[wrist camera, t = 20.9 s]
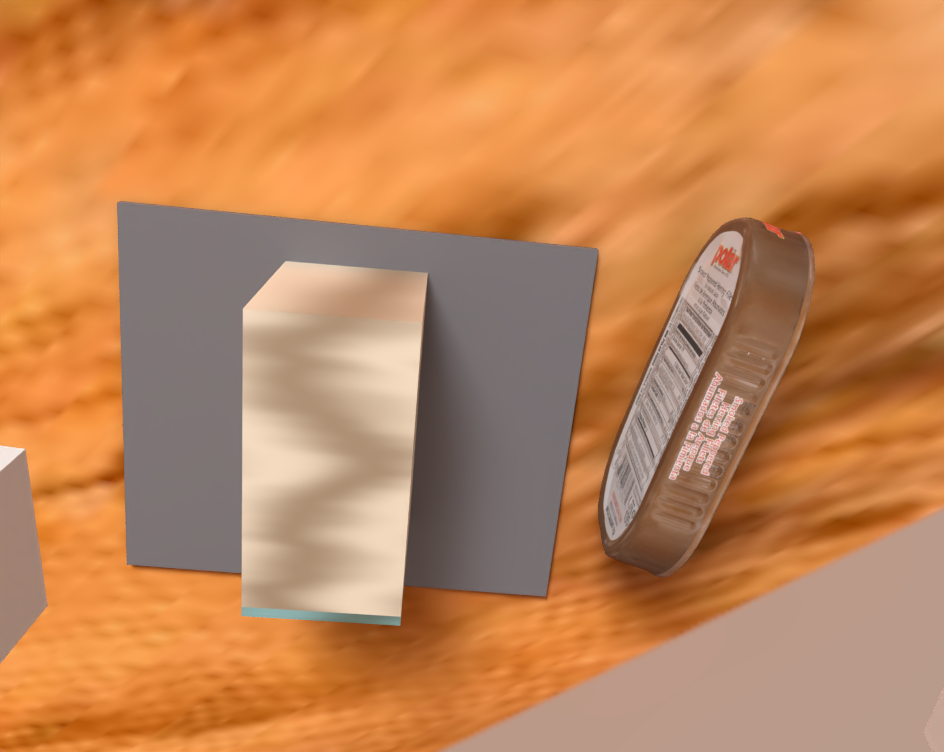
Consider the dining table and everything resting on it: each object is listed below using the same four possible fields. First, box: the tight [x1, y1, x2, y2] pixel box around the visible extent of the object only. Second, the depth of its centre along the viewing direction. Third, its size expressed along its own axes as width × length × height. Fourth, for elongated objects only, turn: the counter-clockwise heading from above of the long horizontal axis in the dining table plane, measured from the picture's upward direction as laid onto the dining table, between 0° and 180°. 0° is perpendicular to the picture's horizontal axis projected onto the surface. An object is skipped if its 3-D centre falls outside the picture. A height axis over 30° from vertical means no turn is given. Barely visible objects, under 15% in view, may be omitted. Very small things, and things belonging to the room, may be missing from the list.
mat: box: [117, 201, 598, 596], centre depth 39 cm, size 20×17×1 cm
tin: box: [598, 218, 815, 577], centre depth 35 cm, size 15×3×8 cm, turn 161°
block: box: [242, 261, 428, 626], centre depth 35 cm, size 6×8×12 cm
